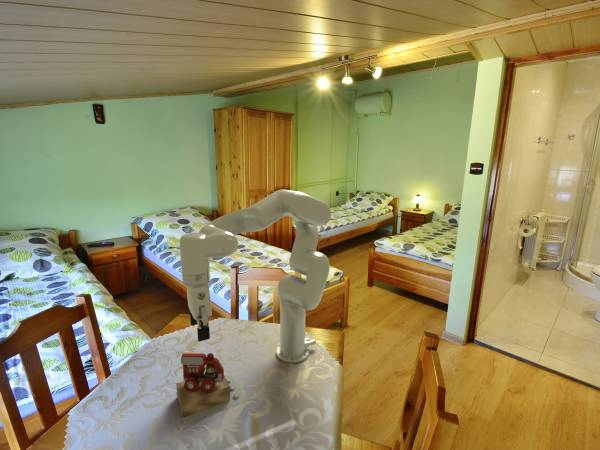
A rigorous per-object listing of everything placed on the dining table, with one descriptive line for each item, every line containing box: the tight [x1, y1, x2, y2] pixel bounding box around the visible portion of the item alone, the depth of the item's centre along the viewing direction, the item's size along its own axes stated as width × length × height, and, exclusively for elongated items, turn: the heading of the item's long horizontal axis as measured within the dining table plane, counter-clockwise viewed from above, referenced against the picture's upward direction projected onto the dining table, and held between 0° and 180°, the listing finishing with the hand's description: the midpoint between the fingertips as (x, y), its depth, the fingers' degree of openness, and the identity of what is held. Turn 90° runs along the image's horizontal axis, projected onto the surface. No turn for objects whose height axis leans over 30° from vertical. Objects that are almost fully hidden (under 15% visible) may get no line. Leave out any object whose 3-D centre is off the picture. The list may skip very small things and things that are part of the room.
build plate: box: [175, 374, 246, 425], centre depth 100 cm, size 18×14×2 cm
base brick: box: [175, 375, 230, 419], centre depth 99 cm, size 14×9×5 cm, turn 120°
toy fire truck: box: [180, 352, 225, 392], centre depth 97 cm, size 7×12×10 cm, turn 90°
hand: (200, 331), depth 95 cm, fingers open, 9 cm apart
